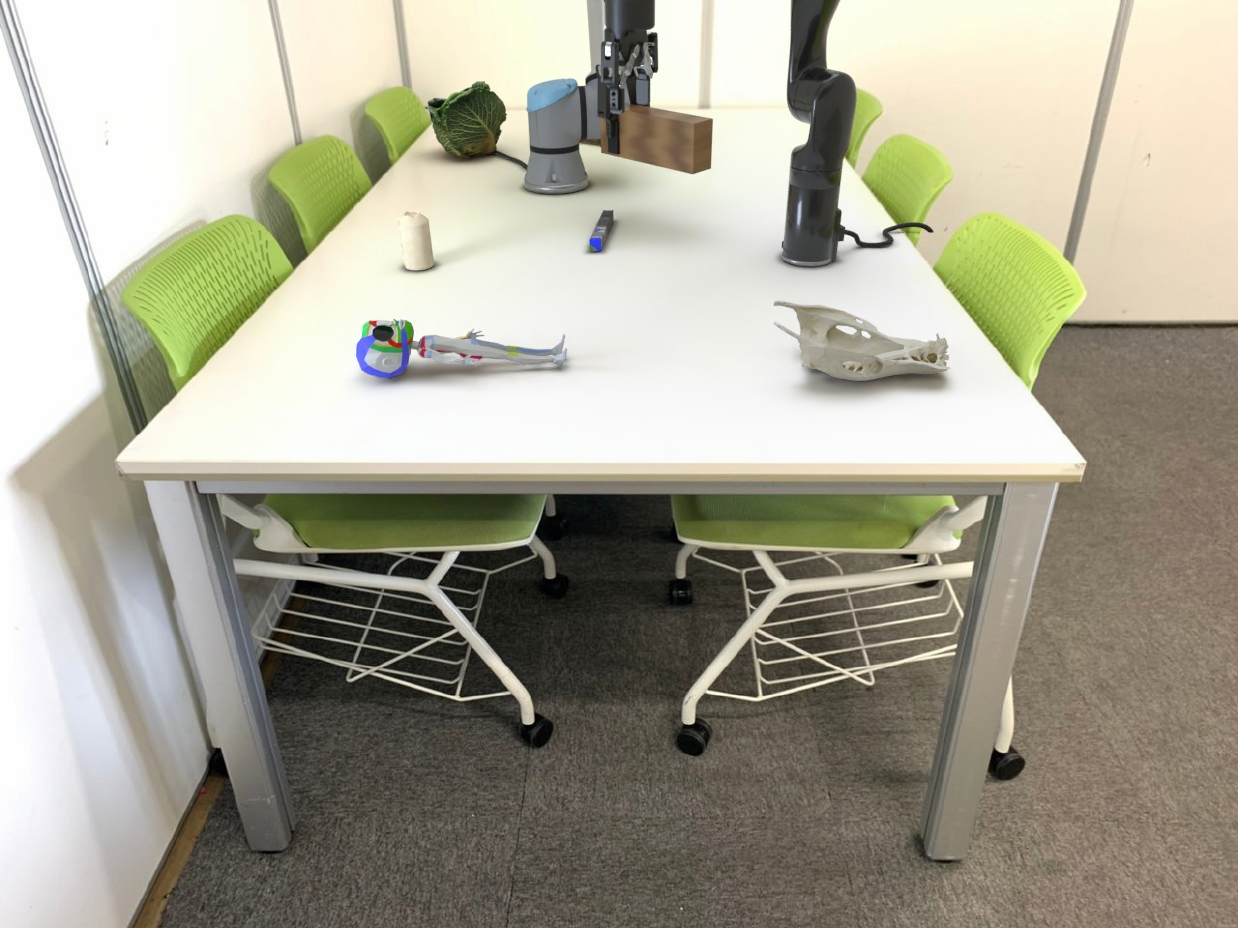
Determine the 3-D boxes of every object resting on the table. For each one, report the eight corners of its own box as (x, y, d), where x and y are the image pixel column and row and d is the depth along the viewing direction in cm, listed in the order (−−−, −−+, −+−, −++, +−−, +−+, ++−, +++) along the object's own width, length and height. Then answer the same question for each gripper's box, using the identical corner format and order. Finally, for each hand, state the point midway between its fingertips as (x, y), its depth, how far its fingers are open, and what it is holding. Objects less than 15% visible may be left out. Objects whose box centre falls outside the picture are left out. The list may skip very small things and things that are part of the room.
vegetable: (457, 176, 250) (415, 110, 242) (515, 138, 251) (474, 71, 243) (465, 176, 232) (420, 104, 224) (527, 135, 233) (484, 62, 225)
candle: (439, 262, 170) (432, 209, 165) (425, 272, 166) (417, 218, 161) (414, 259, 172) (406, 207, 167) (399, 269, 168) (391, 216, 162)
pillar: (613, 210, 190) (600, 241, 173) (613, 220, 191) (600, 251, 174) (603, 210, 190) (589, 240, 173) (603, 220, 191) (589, 251, 174)
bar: (601, 153, 187) (599, 105, 181) (619, 148, 190) (618, 101, 185) (692, 174, 172) (694, 123, 167) (711, 168, 175) (713, 118, 170)
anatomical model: (773, 291, 133) (948, 293, 129) (771, 347, 137) (939, 351, 134) (773, 333, 120) (966, 337, 116) (770, 393, 125) (955, 399, 121)
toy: (569, 347, 126) (349, 329, 122) (563, 400, 131) (350, 385, 126) (565, 318, 135) (359, 301, 130) (559, 369, 139) (360, 354, 134)
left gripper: (603, 33, 165) (605, 162, 178) (670, 23, 176) (667, 145, 189) (575, 30, 169) (579, 156, 182) (642, 20, 180) (641, 139, 193)
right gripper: (629, -1, 127) (629, 119, 135) (673, -10, 137) (671, 103, 146) (583, -3, 130) (587, 115, 139) (630, -11, 140) (631, 99, 149)
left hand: (624, 150), depth 185 cm, fingers closed on bar, 5 cm apart
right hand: (630, 108), depth 142 cm, fingers open, 8 cm apart
